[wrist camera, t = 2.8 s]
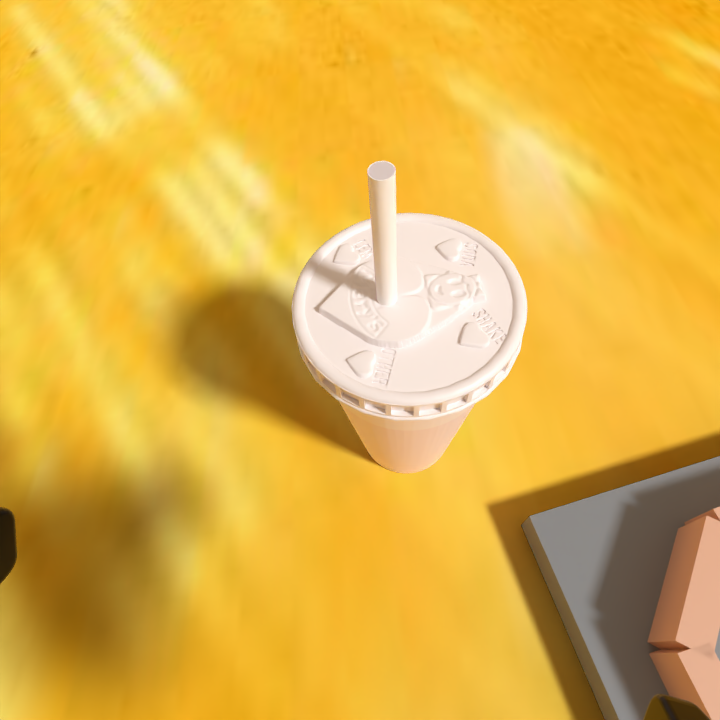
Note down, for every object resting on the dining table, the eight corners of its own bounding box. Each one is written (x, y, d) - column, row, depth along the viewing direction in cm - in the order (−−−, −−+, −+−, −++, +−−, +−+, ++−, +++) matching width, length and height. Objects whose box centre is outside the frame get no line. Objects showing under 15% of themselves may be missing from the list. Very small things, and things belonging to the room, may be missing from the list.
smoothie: (324, 375, 24) (245, 89, 12) (463, 355, 24) (526, 49, 12) (339, 517, 21) (251, 325, 9) (499, 494, 21) (633, 271, 9)
